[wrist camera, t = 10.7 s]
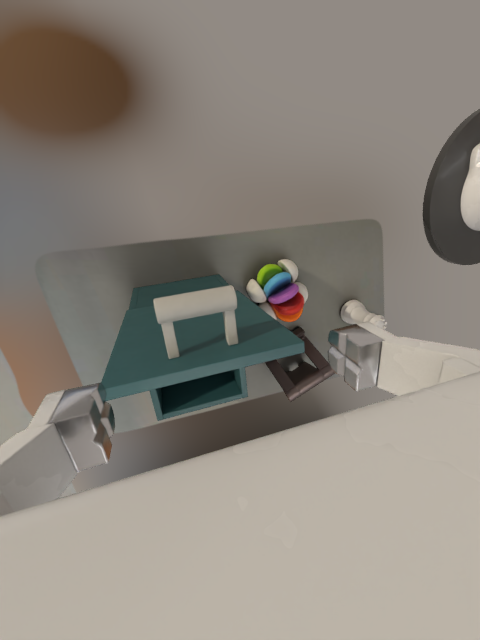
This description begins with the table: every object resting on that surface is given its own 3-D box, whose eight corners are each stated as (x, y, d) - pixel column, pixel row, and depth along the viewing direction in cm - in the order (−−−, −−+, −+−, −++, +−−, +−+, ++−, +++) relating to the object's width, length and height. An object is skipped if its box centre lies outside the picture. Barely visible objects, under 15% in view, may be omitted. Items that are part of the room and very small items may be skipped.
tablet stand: (299, 324, 50) (324, 345, 43) (313, 355, 54) (339, 379, 47) (257, 350, 50) (276, 376, 43) (275, 380, 54) (294, 408, 46)
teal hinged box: (230, 361, 49) (248, 396, 40) (156, 378, 46) (157, 421, 37) (219, 274, 43) (237, 292, 34) (133, 288, 40) (127, 312, 31)
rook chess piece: (340, 324, 53) (369, 343, 46) (337, 303, 51) (368, 319, 44) (360, 316, 54) (392, 333, 47) (359, 295, 52) (392, 309, 45)
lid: (304, 352, 19) (302, 281, 17) (101, 402, 16) (75, 322, 14) (238, 296, 34) (233, 256, 32) (128, 317, 31) (116, 273, 29)
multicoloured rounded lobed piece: (263, 324, 48) (280, 342, 42) (237, 277, 44) (252, 289, 38) (304, 298, 49) (327, 312, 42) (282, 249, 44) (305, 256, 38)
